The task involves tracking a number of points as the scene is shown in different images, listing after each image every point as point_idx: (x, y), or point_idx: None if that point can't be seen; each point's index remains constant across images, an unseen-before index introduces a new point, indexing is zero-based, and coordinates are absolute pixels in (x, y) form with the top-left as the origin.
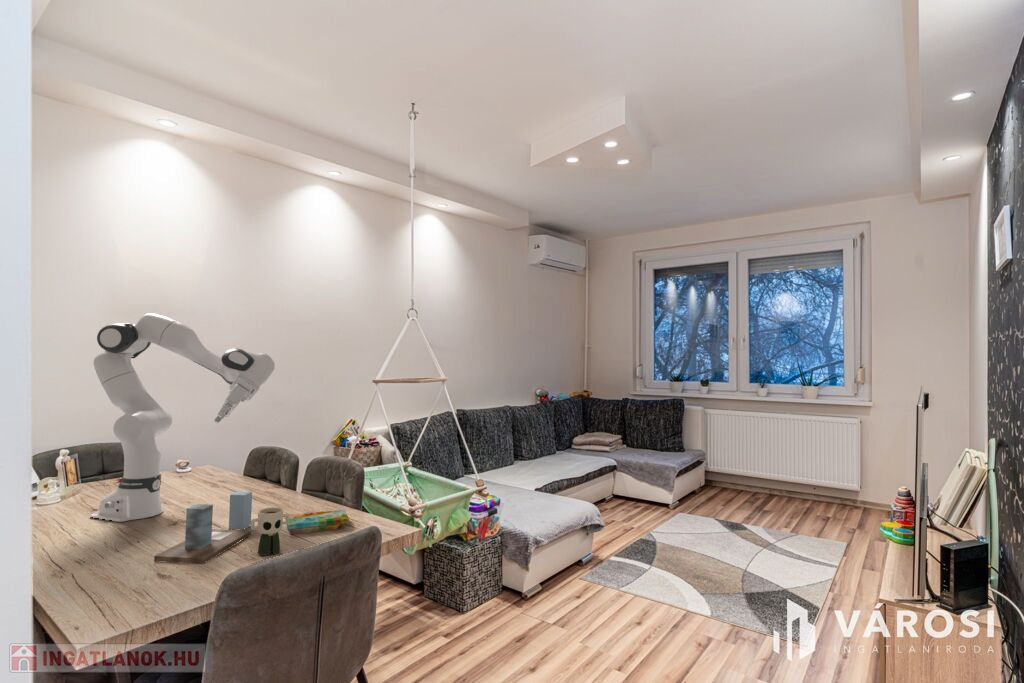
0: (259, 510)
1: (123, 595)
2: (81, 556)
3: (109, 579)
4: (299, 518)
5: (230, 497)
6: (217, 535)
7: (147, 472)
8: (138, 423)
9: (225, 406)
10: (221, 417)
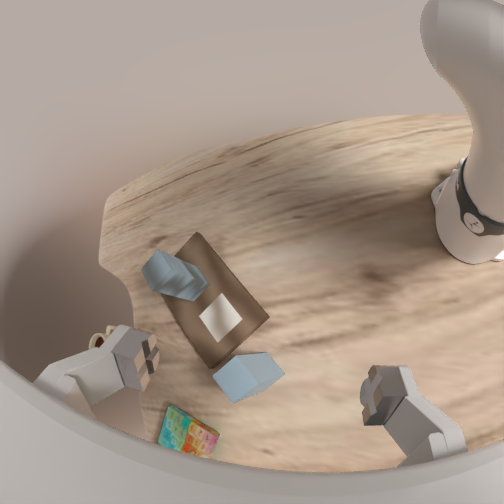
0: (104, 338)
1: (144, 210)
2: (277, 159)
3: (183, 195)
4: (182, 435)
5: (238, 355)
6: (219, 318)
7: (470, 184)
8: (430, 28)
9: (58, 374)
10: (403, 435)
